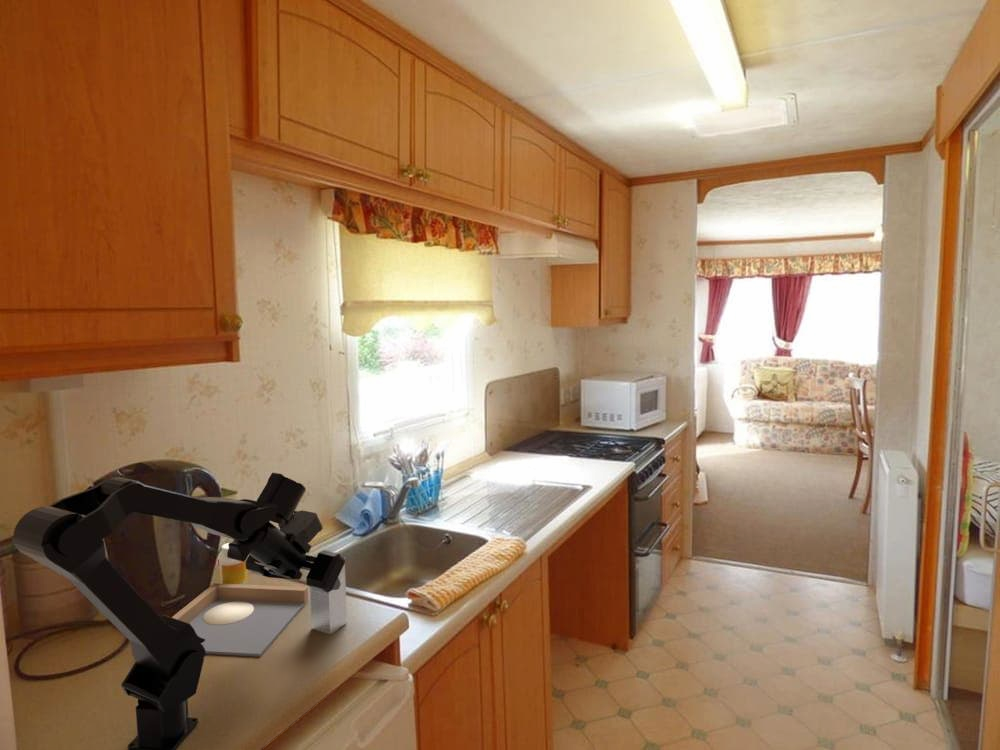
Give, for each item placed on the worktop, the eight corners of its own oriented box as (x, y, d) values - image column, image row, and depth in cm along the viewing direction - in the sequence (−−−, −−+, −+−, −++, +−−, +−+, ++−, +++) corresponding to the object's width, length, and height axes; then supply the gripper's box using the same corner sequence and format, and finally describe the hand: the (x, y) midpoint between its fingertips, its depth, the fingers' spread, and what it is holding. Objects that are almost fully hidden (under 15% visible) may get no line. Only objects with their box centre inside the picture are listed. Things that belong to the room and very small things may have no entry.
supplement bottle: (252, 588, 130) (250, 544, 129) (227, 597, 126) (225, 552, 125) (240, 580, 134) (238, 538, 133) (216, 589, 130) (213, 545, 129)
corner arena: (260, 656, 105) (259, 640, 104) (151, 650, 107) (150, 634, 106) (307, 601, 125) (307, 587, 124) (215, 597, 126) (214, 583, 126)
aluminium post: (330, 634, 112) (328, 566, 110) (311, 628, 114) (309, 562, 112) (346, 623, 116) (344, 557, 114) (328, 617, 118) (326, 553, 116)
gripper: (335, 509, 101) (378, 549, 112) (254, 494, 109) (302, 533, 120) (302, 574, 95) (352, 609, 106) (220, 553, 103) (273, 587, 114)
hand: (319, 581), depth 112 cm, fingers open, 9 cm apart
